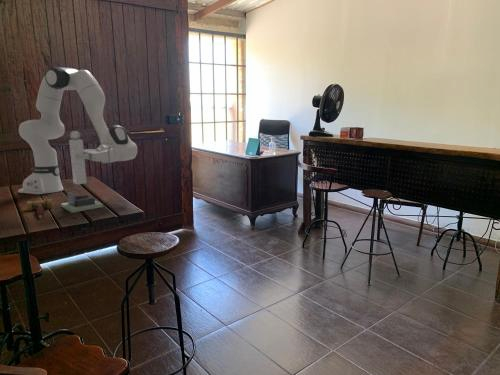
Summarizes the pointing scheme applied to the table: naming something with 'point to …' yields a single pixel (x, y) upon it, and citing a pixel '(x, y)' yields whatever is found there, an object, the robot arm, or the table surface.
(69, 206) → the keeper bracket
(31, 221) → the table surface
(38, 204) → the gavel
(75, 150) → the steel link
